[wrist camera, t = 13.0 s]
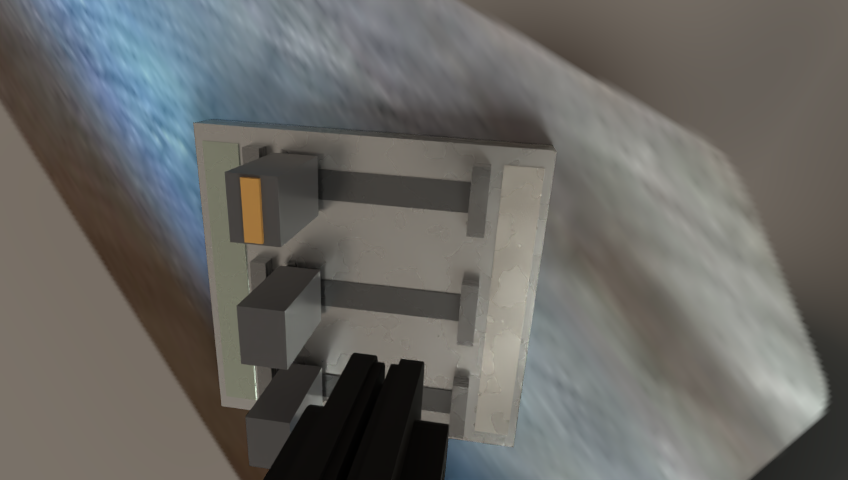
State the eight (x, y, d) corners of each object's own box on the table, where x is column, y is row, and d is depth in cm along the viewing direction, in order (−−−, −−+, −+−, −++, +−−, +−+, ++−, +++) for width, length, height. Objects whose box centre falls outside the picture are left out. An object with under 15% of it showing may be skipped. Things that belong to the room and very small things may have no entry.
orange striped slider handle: (318, 215, 29) (279, 248, 24) (276, 211, 30) (228, 243, 24) (317, 156, 28) (276, 177, 23) (273, 152, 28) (222, 172, 23)
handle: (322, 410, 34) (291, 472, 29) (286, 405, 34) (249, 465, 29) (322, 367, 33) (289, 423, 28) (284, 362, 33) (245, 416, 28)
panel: (512, 427, 35) (513, 458, 33) (235, 389, 38) (214, 415, 35) (552, 145, 29) (558, 153, 26) (211, 119, 31) (183, 124, 28)
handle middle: (321, 320, 32) (287, 370, 27) (282, 315, 32) (241, 363, 27) (320, 269, 30) (284, 311, 25) (279, 265, 31) (236, 305, 26)
